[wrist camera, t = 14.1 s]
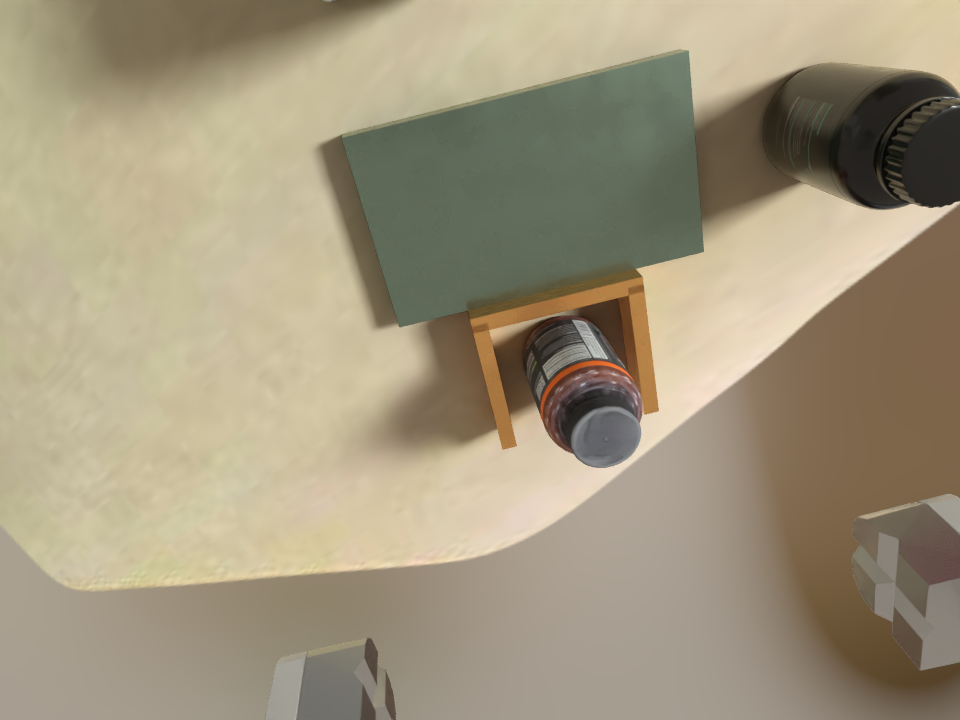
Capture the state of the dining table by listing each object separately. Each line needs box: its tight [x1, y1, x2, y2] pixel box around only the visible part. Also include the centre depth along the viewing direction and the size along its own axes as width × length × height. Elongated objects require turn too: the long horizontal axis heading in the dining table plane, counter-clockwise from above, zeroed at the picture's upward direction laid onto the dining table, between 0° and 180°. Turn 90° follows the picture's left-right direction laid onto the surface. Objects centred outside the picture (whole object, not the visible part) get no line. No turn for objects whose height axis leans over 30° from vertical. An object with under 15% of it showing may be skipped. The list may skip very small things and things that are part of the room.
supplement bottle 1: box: [523, 316, 643, 468], centre depth 43 cm, size 6×6×11 cm
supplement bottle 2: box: [763, 63, 960, 210], centre depth 37 cm, size 7×7×12 cm
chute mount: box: [342, 50, 704, 449], centre depth 44 cm, size 20×22×3 cm
